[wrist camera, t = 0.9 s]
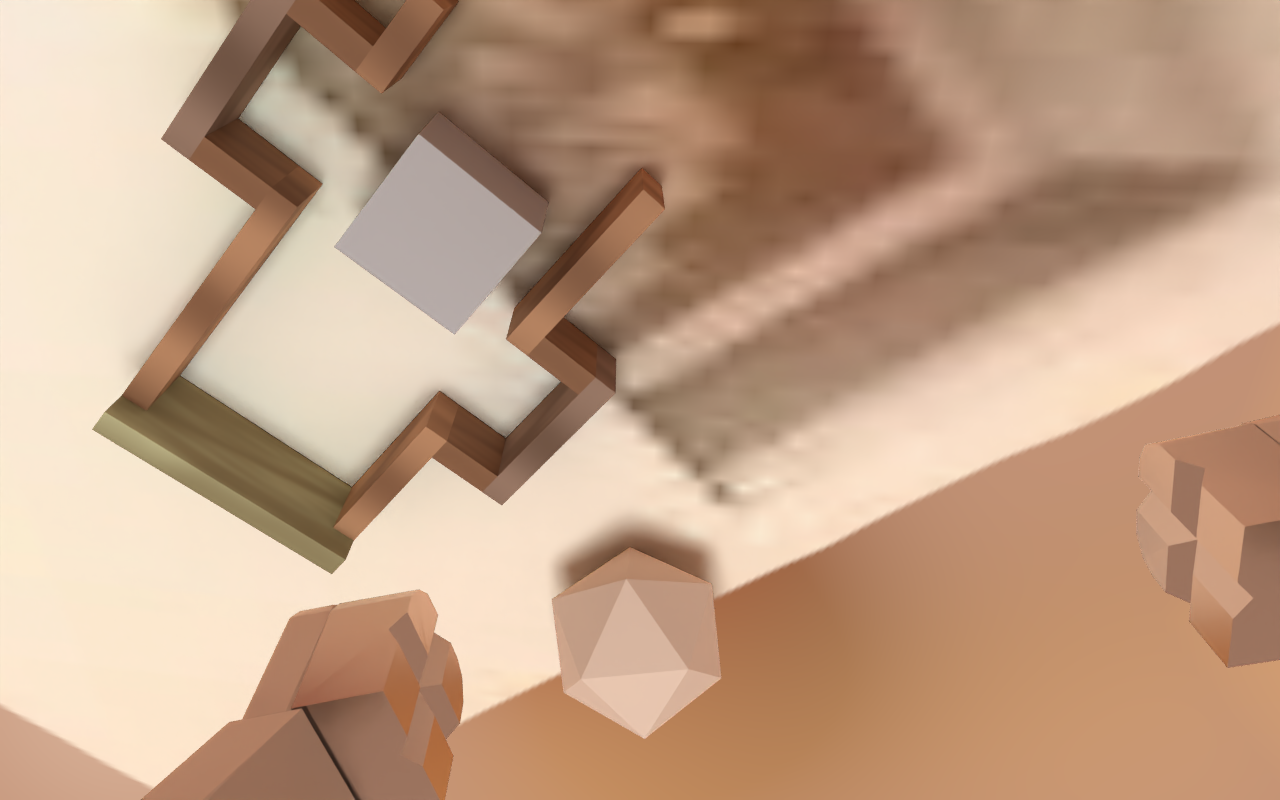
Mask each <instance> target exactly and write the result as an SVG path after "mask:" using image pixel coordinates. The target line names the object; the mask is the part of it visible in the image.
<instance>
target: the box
mask: <svg viewBox="0 0 1280 800" xmlns="http://www.w3.org/2000/svg"><path fill="white" fill-rule="evenodd" d="M458 2H459V1H458V0H406V1H405V3H404V4H403V6H402V7H401V8H400V10H399V11H398V13H397V14H396V15H395V17H394V18H393V20H392V21H391V22H390V24H389V25H388V26H387V28H385V27H384V26H383V25H382V24H381V23H379V22H378V21H377V20H376V19H375V18H374V17H373V16H371V15H370V14H369V13H368V12H367V11H366V10H364V9H363V8H362V7H361V6H360V5H359V4H358V3H356V2H355V1H354V0H250V2H249V4H248V5H247V7H246V8H245V10H244V11H243V13H242V14H241V16H240V17H239V19H238V21H237V22H236V24H235V25H234V27H233V28H232V30H231V31H230V33H229V35H228V36H227V38H226V39H225V41H224V42H223V44H222V45H221V47H220V48H219V50H218V52H217V53H216V55H215V56H214V58H213V59H212V61H211V62H210V64H209V66H208V67H207V69H206V70H205V72H204V73H203V75H202V76H201V78H200V79H199V81H198V83H197V84H196V86H195V87H194V89H193V90H192V92H191V93H190V95H189V97H188V98H187V100H186V101H185V103H184V104H183V106H182V107H181V109H180V110H179V112H178V114H177V115H176V117H175V118H174V120H173V121H172V123H171V124H170V126H169V128H168V129H167V131H166V132H165V134H164V135H163V137H162V138H161V139H162V140H163V141H164V142H166V143H167V144H168V145H170V146H171V147H172V148H174V149H175V150H177V151H178V152H179V153H181V154H182V155H183V156H185V157H186V158H187V159H189V160H190V161H191V162H193V163H194V164H195V165H197V166H198V167H199V168H201V169H202V170H204V171H205V172H206V173H208V174H209V175H210V176H212V177H213V178H214V179H216V180H217V181H218V182H220V183H221V184H222V185H224V186H225V187H226V188H228V189H229V190H231V191H232V192H233V193H235V194H236V195H237V196H239V197H240V198H241V199H243V200H244V201H245V202H247V203H248V204H249V205H251V206H252V207H253V208H255V209H256V210H255V211H254V213H253V214H252V215H251V217H250V218H249V220H248V221H247V222H246V224H245V225H244V226H243V228H242V229H241V231H240V232H239V233H238V235H237V236H236V238H235V239H234V240H233V242H232V243H231V244H230V246H229V247H228V249H227V250H226V251H225V253H224V254H223V256H222V257H221V258H220V260H219V261H218V263H217V264H216V265H215V267H214V268H213V269H212V271H211V272H210V274H209V275H208V276H207V278H206V279H205V281H204V282H203V283H202V285H201V286H200V288H199V289H198V290H197V292H196V293H195V294H194V296H193V297H192V299H191V300H190V301H189V303H188V304H187V306H186V307H185V308H184V310H183V311H182V313H181V314H180V315H179V317H178V318H177V319H176V321H175V322H174V324H173V325H172V326H171V328H170V329H169V331H168V332H167V333H166V335H165V336H164V338H163V339H162V340H161V342H160V343H159V344H158V346H157V347H156V349H155V350H154V351H153V353H152V354H151V356H150V357H149V358H148V360H147V361H146V363H145V364H144V365H143V367H142V368H141V369H140V371H139V372H138V374H137V375H136V376H135V378H134V379H133V381H132V382H131V383H130V385H129V386H128V388H127V389H126V390H125V392H124V393H123V394H122V396H121V397H120V398H119V399H118V400H117V401H116V402H115V403H114V404H112V405H111V406H110V407H109V408H108V409H107V410H106V411H105V412H104V414H103V415H102V417H101V418H100V419H99V421H98V422H97V424H96V425H95V426H94V428H93V429H92V430H94V431H96V432H97V433H99V434H101V435H102V436H104V437H106V438H107V439H109V440H111V441H112V442H114V443H115V444H117V445H119V446H120V447H122V448H124V449H125V450H127V451H129V452H130V453H132V454H134V455H135V456H137V457H139V458H140V459H142V460H144V461H145V462H147V463H149V464H150V465H152V466H154V467H155V468H157V469H159V470H160V471H162V472H163V473H165V474H167V475H168V476H170V477H172V478H173V479H175V480H177V481H178V482H180V483H182V484H183V485H185V486H187V487H188V488H190V489H192V490H193V491H195V492H197V493H198V494H200V495H202V496H203V497H205V498H207V499H208V500H210V501H211V502H213V503H215V504H216V505H218V506H220V507H221V508H223V509H225V510H226V511H228V512H230V513H231V514H233V515H235V516H236V517H238V518H240V519H241V520H243V521H245V522H246V523H248V524H250V525H251V526H253V527H255V528H256V529H258V530H259V531H261V532H263V533H264V534H266V535H268V536H269V537H271V538H273V539H274V540H276V541H278V542H279V543H281V544H283V545H284V546H286V547H288V548H289V549H291V550H293V551H294V552H296V553H298V554H299V555H301V556H303V557H304V558H306V559H307V560H309V561H311V562H312V563H314V564H316V565H317V566H319V567H321V568H322V569H324V570H326V571H327V572H329V573H331V574H332V573H333V572H334V571H335V570H336V569H337V568H338V567H339V566H340V565H341V564H342V563H343V562H344V561H345V560H346V557H347V555H348V553H349V550H350V548H351V546H352V543H353V541H354V540H355V539H356V537H357V536H358V535H359V534H360V533H361V532H362V531H363V530H364V529H365V528H366V527H367V526H368V525H369V524H370V523H371V522H372V520H373V519H374V518H375V517H376V516H377V515H378V514H379V513H380V512H381V511H382V510H383V509H384V508H385V507H386V506H387V504H388V503H389V502H390V501H391V500H392V499H393V498H394V497H395V496H396V495H397V494H398V493H399V492H400V491H401V490H402V488H403V487H404V486H405V485H406V484H407V483H408V482H409V481H410V480H411V479H412V478H413V477H414V476H415V475H416V474H417V473H418V471H419V470H420V469H421V468H422V467H423V466H424V465H425V464H426V463H427V462H428V461H429V460H430V459H431V458H434V459H435V460H436V461H438V462H439V463H441V464H442V465H444V466H445V467H447V468H448V469H450V470H451V471H453V472H454V473H455V474H457V475H458V476H460V477H461V478H463V479H464V480H466V481H467V482H469V483H470V484H471V485H473V486H474V487H476V488H477V489H479V490H480V491H482V492H483V493H485V494H486V495H487V496H489V497H490V498H492V499H493V500H495V501H496V502H498V503H499V504H501V505H503V504H504V503H505V502H506V501H507V500H508V499H509V498H510V497H511V496H512V495H513V494H514V493H515V492H516V491H517V490H518V489H519V488H520V487H521V486H522V485H523V484H524V483H525V482H526V481H527V480H528V479H529V478H530V477H531V476H532V475H533V474H534V473H535V472H536V471H537V470H538V469H539V468H540V467H541V466H542V465H543V464H544V463H545V462H546V461H547V460H548V459H549V458H550V457H551V456H552V455H553V454H554V453H555V452H556V451H557V450H558V449H559V448H560V447H561V446H562V445H563V444H564V443H565V442H566V441H567V440H568V439H569V438H570V437H571V436H572V435H573V434H575V433H576V432H577V431H578V430H579V429H580V428H581V427H582V426H583V425H584V424H585V423H586V422H587V421H588V420H589V419H590V418H591V417H592V416H593V415H594V414H595V413H596V412H597V411H598V410H599V409H600V408H601V407H602V406H603V405H604V404H605V403H606V402H607V401H608V400H609V399H610V398H611V397H612V396H613V395H614V394H615V392H616V359H615V358H614V357H612V356H611V355H610V354H609V353H607V352H606V351H605V350H604V349H602V348H601V347H600V346H599V345H597V344H596V343H595V342H594V341H592V340H591V339H590V338H589V337H587V336H586V335H585V334H584V333H582V332H581V331H580V330H579V329H577V328H576V327H575V326H574V325H572V324H571V323H570V322H569V321H567V320H566V319H565V318H564V316H565V315H566V314H567V313H568V312H569V311H570V310H571V308H572V307H573V306H574V305H575V304H576V303H577V302H578V301H579V300H580V299H581V298H582V297H583V296H584V295H585V294H586V292H587V291H588V290H589V289H590V288H591V287H592V286H593V285H594V284H595V283H596V282H597V281H598V280H599V279H600V278H601V276H602V275H603V274H604V273H605V272H606V271H607V270H608V269H609V268H610V267H611V266H612V265H613V264H614V263H615V262H616V261H617V259H618V258H619V257H620V256H621V255H622V254H623V253H624V252H625V251H626V250H627V249H628V248H629V247H630V246H631V245H632V243H633V242H634V241H635V240H636V239H637V238H638V237H639V236H640V235H641V234H642V233H643V232H644V231H645V230H646V229H647V227H648V226H649V225H650V224H651V223H652V222H653V221H654V220H655V219H656V218H657V217H658V216H659V215H660V214H661V213H662V212H663V210H664V209H665V206H664V199H663V192H662V186H661V185H660V184H659V183H658V182H657V181H656V180H655V179H653V178H652V177H651V176H650V175H649V174H648V173H647V172H646V171H645V170H644V169H642V168H641V169H640V170H639V171H638V172H637V174H636V175H635V176H634V177H633V178H632V179H631V180H630V181H629V182H628V183H627V185H626V186H625V187H624V188H623V189H622V190H621V191H620V192H619V193H618V194H617V196H616V197H615V198H614V199H613V200H612V201H611V202H610V203H609V204H608V206H607V207H606V208H605V209H604V210H603V211H602V212H601V213H600V214H599V215H598V217H597V218H596V219H595V220H594V221H593V222H592V223H591V224H590V225H589V226H588V228H587V229H586V230H585V231H584V232H583V233H582V234H581V235H580V236H579V238H578V239H577V240H576V241H575V242H574V243H573V244H572V245H571V246H570V247H569V249H568V250H567V251H566V252H565V253H564V254H563V255H562V256H561V257H560V258H559V260H558V261H557V262H556V263H555V264H554V265H553V266H552V267H551V268H550V270H549V271H548V272H547V273H546V274H545V275H544V276H543V277H542V278H541V279H540V281H539V282H538V283H537V284H536V285H535V286H534V287H533V288H532V289H531V290H530V292H529V293H528V294H527V295H526V296H525V297H524V298H523V299H522V300H521V302H520V303H519V304H518V305H517V306H516V307H515V308H514V312H513V315H512V319H511V323H510V327H509V330H508V334H507V338H506V340H508V341H509V342H510V343H512V344H513V345H514V346H516V347H517V348H518V349H519V350H521V351H522V352H523V353H525V354H526V355H527V356H529V357H530V358H531V359H532V360H534V361H535V362H536V363H538V364H539V365H540V366H542V367H543V368H544V369H545V370H547V371H548V372H549V373H551V374H552V375H553V376H555V377H556V378H557V379H559V380H560V381H561V382H560V384H559V385H558V386H557V387H556V388H555V389H554V390H553V391H552V392H551V393H550V394H549V395H548V396H547V397H546V398H545V399H544V400H543V401H542V402H541V403H540V404H539V405H538V406H537V407H536V408H535V409H534V410H533V411H532V412H531V413H530V414H529V415H528V416H527V417H526V418H525V419H524V421H523V422H522V423H521V424H520V425H519V426H518V427H517V428H516V429H515V430H514V431H513V432H512V433H511V434H510V435H509V436H508V437H507V438H506V439H505V438H504V437H503V436H501V435H500V434H499V433H497V432H496V431H494V430H493V429H492V428H490V427H489V426H487V425H486V424H485V423H483V422H482V421H480V420H479V419H478V418H476V417H475V416H474V415H472V414H471V413H469V412H468V411H467V410H465V409H464V408H462V407H461V406H460V405H458V404H457V403H455V402H454V401H453V400H451V399H450V398H449V397H447V396H446V395H444V394H443V393H442V392H440V391H439V392H438V393H437V394H436V395H435V396H434V398H433V399H432V400H431V401H430V402H429V403H428V404H427V405H426V406H425V407H424V409H423V410H422V411H421V412H420V413H419V414H418V415H417V416H416V417H415V418H414V420H413V421H412V422H411V423H410V424H409V425H408V426H407V427H406V428H405V430H404V431H403V432H402V433H401V434H400V435H399V436H398V437H397V438H396V439H395V441H394V442H393V443H392V444H391V445H390V446H389V447H388V448H387V449H386V450H385V452H384V453H383V454H382V455H381V456H380V457H379V458H378V459H377V460H376V462H375V463H374V464H373V465H372V466H371V467H370V468H369V469H368V470H367V471H366V473H365V474H364V475H363V476H362V477H361V478H360V479H359V480H358V481H357V482H356V484H355V485H354V486H353V487H350V486H349V485H347V484H346V483H344V482H343V481H341V480H339V479H338V478H336V477H335V476H333V475H332V474H330V473H329V472H327V471H326V470H324V469H322V468H321V467H319V466H318V465H316V464H315V463H313V462H312V461H310V460H309V459H307V458H305V457H304V456H302V455H301V454H299V453H298V452H296V451H295V450H293V449H292V448H290V447H289V446H287V445H285V444H284V443H282V442H281V441H279V440H278V439H276V438H275V437H273V436H272V435H270V434H268V433H267V432H265V431H264V430H262V429H261V428H259V427H258V426H256V425H255V424H253V423H252V422H250V421H248V420H247V419H245V418H244V417H242V416H241V415H239V414H238V413H236V412H235V411H233V410H231V409H230V408H228V407H227V406H225V405H224V404H222V403H221V402H219V401H218V400H216V399H214V398H213V397H211V396H210V395H208V394H207V393H205V392H204V391H202V390H201V389H199V388H198V387H196V386H194V385H193V384H191V383H190V382H188V381H187V380H185V379H184V378H182V377H181V376H180V375H181V373H182V372H183V371H184V369H185V368H186V367H187V365H188V364H189V363H190V361H191V360H192V359H193V357H194V356H195V354H196V353H197V352H198V350H199V349H200V348H201V346H202V345H203V344H204V342H205V341H206V340H207V338H208V337H209V336H210V334H211V333H212V332H213V330H214V329H215V328H216V326H217V325H218V324H219V322H220V321H221V320H222V318H223V317H224V316H225V314H226V313H227V312H228V310H229V309H230V308H231V306H232V305H233V304H234V302H235V301H236V300H237V298H238V297H239V295H240V294H241V293H242V291H243V290H244V289H245V287H246V286H247V285H248V283H249V282H250V281H251V279H252V278H253V277H254V275H255V274H256V273H257V271H258V270H259V269H260V267H261V266H262V265H263V263H264V262H265V261H266V259H267V258H268V257H269V255H270V254H271V253H272V251H273V250H274V249H275V247H276V246H277V245H278V243H279V242H280V241H281V239H282V238H283V236H284V235H285V234H286V232H287V231H288V230H289V228H290V227H291V226H292V224H293V223H294V222H295V220H296V219H297V218H298V216H299V215H300V214H301V212H302V211H303V210H304V208H305V207H306V206H307V204H308V203H309V202H310V200H311V199H312V198H313V196H314V195H315V194H316V192H317V191H318V190H319V188H320V187H321V186H322V183H320V182H319V181H318V180H317V179H315V178H314V177H313V176H311V175H310V174H309V173H308V172H306V171H305V170H304V169H302V168H301V167H300V166H299V165H297V164H296V163H295V162H293V161H292V160H291V159H289V158H288V157H287V156H286V155H284V154H283V153H282V152H280V151H279V150H278V149H277V148H275V147H274V146H273V145H271V144H270V143H269V142H268V141H266V140H265V139H264V138H262V137H261V136H260V135H258V134H257V133H256V132H255V131H253V130H252V129H251V128H249V127H248V126H247V125H246V124H244V123H243V122H242V121H240V120H239V119H238V118H239V116H240V115H241V113H242V112H243V110H244V109H245V107H246V106H247V104H248V103H249V102H250V100H251V99H252V97H253V96H254V94H255V93H256V91H257V90H258V88H259V87H260V85H261V84H262V82H263V81H264V79H265V78H266V76H267V75H268V73H269V72H270V71H271V69H272V68H273V66H274V65H275V63H276V62H277V60H278V59H279V57H280V56H281V54H282V53H283V51H284V50H285V48H286V47H287V45H288V44H289V42H290V41H291V40H292V38H293V37H294V35H295V34H296V32H297V31H298V29H299V28H300V26H301V27H303V28H304V29H305V30H306V31H307V32H309V33H310V34H311V35H312V36H313V37H315V38H316V39H317V40H318V41H319V42H321V43H322V44H323V45H324V46H325V47H327V48H328V49H329V50H330V51H331V52H332V53H334V54H335V55H336V56H337V57H338V58H340V59H341V60H342V61H343V62H344V63H346V64H347V65H348V66H349V67H350V68H352V69H353V70H354V71H355V72H356V73H358V74H359V75H360V76H361V77H362V78H364V79H365V80H366V81H367V82H368V83H370V84H371V85H372V86H373V87H374V88H376V89H377V90H378V91H379V92H380V93H383V92H384V91H386V90H387V89H388V88H389V87H391V86H392V85H393V84H395V83H396V82H397V81H399V80H400V79H401V78H402V77H403V76H404V74H405V73H406V72H407V70H408V69H409V68H410V66H411V65H412V64H413V62H414V61H415V59H416V58H417V57H418V55H419V54H420V53H421V51H422V50H423V49H424V47H425V46H426V45H427V43H428V42H429V41H430V39H431V38H432V37H433V35H434V34H435V33H436V31H437V30H438V29H439V27H440V26H441V25H442V23H443V22H444V21H445V19H446V18H447V17H448V15H449V14H450V13H451V11H452V10H453V9H454V7H455V6H456V5H457V3H458Z"/></svg>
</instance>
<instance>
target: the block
mask: <svg viewBox="0 0 1280 800" xmlns="http://www.w3.org/2000/svg"><path fill="white" fill-rule="evenodd" d="M548 203H549V202H548V201H546V200H545V199H544V198H543V197H541V196H540V195H539V194H538V193H537V192H535V191H534V190H533V189H532V188H531V187H529V186H528V185H527V184H526V183H525V182H523V181H522V180H521V179H520V178H518V177H517V176H516V175H515V174H514V173H512V172H511V171H510V170H509V169H508V168H506V167H505V166H504V165H503V164H501V163H500V162H499V161H498V160H497V159H495V158H494V157H493V156H492V155H491V154H489V153H488V152H487V151H486V150H485V149H483V148H482V147H481V146H480V145H478V144H477V143H476V142H475V141H474V140H472V139H471V138H470V137H469V136H468V135H466V134H465V133H464V132H463V131H461V130H460V129H459V128H458V127H457V126H455V125H454V124H453V123H452V122H451V121H449V120H448V119H447V118H446V117H445V116H443V115H442V114H441V113H440V112H438V113H437V114H436V115H435V116H434V117H433V119H432V120H431V121H430V122H429V123H428V124H427V125H426V126H425V127H424V128H423V130H422V131H421V132H420V133H419V134H418V135H417V137H416V138H415V139H414V141H413V142H412V143H411V145H410V146H409V147H408V149H407V150H406V151H405V153H404V154H403V155H402V157H401V158H400V159H399V161H398V162H397V163H396V165H395V166H394V167H393V169H392V170H391V171H390V173H389V174H388V175H387V177H386V178H385V180H384V181H383V182H382V184H381V185H380V186H379V188H378V189H377V190H376V192H375V193H374V194H373V196H372V197H371V198H370V200H369V201H368V202H367V204H366V205H365V206H364V208H363V209H362V210H361V212H360V213H359V214H358V216H357V217H356V218H355V220H354V221H353V222H352V224H351V225H350V226H349V228H348V229H347V230H346V232H345V233H344V234H343V236H342V237H341V238H340V240H339V241H338V242H337V244H336V245H335V246H334V247H335V248H336V249H338V250H339V251H340V252H342V253H343V254H345V255H346V256H347V257H349V258H350V259H351V260H353V261H354V262H356V263H357V264H358V265H360V266H361V267H362V268H364V269H365V270H367V271H368V272H369V273H371V274H372V275H373V276H375V277H376V278H378V279H379V280H380V281H382V282H383V283H384V284H386V285H387V286H388V287H390V288H391V289H393V290H394V291H395V292H397V293H398V294H399V295H401V296H402V297H404V298H405V299H406V300H408V301H409V302H410V303H412V304H413V305H415V306H416V307H417V308H419V309H420V310H421V311H423V312H424V313H426V314H427V315H428V316H430V317H431V318H432V319H434V320H435V321H437V322H438V323H439V324H441V325H442V326H443V327H445V328H446V329H448V330H449V331H450V332H452V333H453V334H454V335H455V334H456V332H457V331H458V330H459V329H460V328H461V327H462V325H463V324H464V323H465V322H466V321H467V320H468V318H469V317H470V316H471V315H472V314H473V313H474V311H475V310H476V309H477V308H478V307H479V305H480V304H481V303H482V302H483V301H484V300H485V298H486V297H487V296H488V295H489V294H490V293H491V291H492V290H493V289H494V288H495V287H496V286H497V284H498V283H499V282H500V281H501V280H502V279H503V277H504V276H505V275H506V274H507V273H508V271H509V270H510V269H511V268H512V267H513V266H514V264H515V263H516V262H517V261H518V260H519V259H520V257H521V256H522V255H523V254H524V253H525V252H526V250H527V249H528V248H529V247H530V246H531V245H532V243H533V242H534V241H535V240H536V239H537V238H538V236H539V235H540V234H541V233H542V228H543V224H544V220H545V216H546V212H547V208H548Z"/></svg>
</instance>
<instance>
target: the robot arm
mask: <svg viewBox="0 0 1280 800" xmlns="http://www.w3.org/2000/svg"><path fill="white" fill-rule="evenodd" d="M1138 477H1139V478H1140V479H1141V480H1142V481H1143V482H1144V483H1145V484H1146V485H1147V486H1148V487H1149V488H1150V490H1151V492H1150V494H1149V495H1148V496H1147V497H1146V499H1145V500H1144V501H1143V502H1142V504H1141V505H1140V506H1139V507H1138V509H1137V537H1138V541H1139V545H1140V549H1141V552H1142V556H1143V559H1144V561H1145V563H1146V565H1147V567H1148V568H1149V570H1150V572H1151V574H1152V576H1153V577H1154V578H1155V580H1156V581H1157V582H1158V583H1159V585H1160V586H1161V587H1162V589H1163V590H1164V591H1165V592H1166V593H1168V594H1171V595H1173V596H1175V597H1177V598H1180V599H1182V600H1184V601H1187V602H1189V603H1191V605H1190V618H1189V622H1190V623H1191V624H1192V626H1193V627H1194V628H1195V629H1196V630H1197V632H1198V633H1199V634H1200V635H1201V636H1202V638H1203V639H1204V640H1205V641H1206V643H1207V644H1208V645H1209V646H1210V647H1211V649H1212V650H1213V651H1214V652H1215V653H1216V655H1217V656H1218V657H1219V658H1220V659H1221V660H1222V662H1223V663H1224V664H1225V665H1226V667H1228V668H1230V667H1235V666H1243V665H1249V664H1256V663H1263V662H1269V661H1276V660H1280V415H1276V416H1272V417H1268V418H1264V419H1259V420H1254V421H1250V422H1246V423H1242V424H1241V425H1239V426H1234V427H1229V428H1224V429H1220V430H1215V431H1210V432H1205V433H1200V434H1195V435H1190V436H1185V437H1180V438H1175V439H1171V440H1166V441H1161V442H1156V443H1151V444H1146V445H1145V447H1144V449H1143V451H1142V453H1141V456H1140V461H1139V476H1138ZM437 617H438V614H437V612H436V610H435V608H434V606H433V604H432V602H431V600H430V598H429V596H428V594H427V593H425V592H423V591H421V590H413V591H407V592H402V593H396V594H390V595H385V596H379V597H373V598H368V599H362V600H356V601H351V602H345V603H340V604H339V605H330V606H325V607H320V608H315V609H309V610H304V611H300V612H298V613H297V614H295V615H294V616H292V617H291V618H290V619H289V621H288V623H287V625H286V627H285V629H284V631H283V633H282V636H281V638H280V640H279V642H278V644H277V646H276V648H275V650H274V653H273V655H272V657H271V659H270V661H269V663H268V665H267V668H266V670H265V672H264V674H263V676H262V678H261V680H260V682H259V685H258V687H257V689H256V691H255V693H254V695H253V697H252V700H251V702H250V704H249V706H248V708H247V710H246V712H245V715H244V717H243V719H242V720H238V721H233V722H229V723H228V724H227V725H225V726H224V727H223V728H222V729H221V730H220V731H219V732H217V733H216V734H215V735H214V736H213V737H212V738H211V739H209V740H208V741H207V742H206V743H205V744H204V745H203V746H201V747H200V748H199V749H198V750H197V751H196V752H195V753H193V754H192V755H191V756H190V757H189V758H188V759H187V760H186V761H184V762H183V763H182V764H181V765H180V766H179V767H178V768H176V769H175V770H174V771H173V772H172V773H171V774H170V775H168V776H167V777H166V778H165V779H164V780H163V781H162V782H160V783H159V784H158V785H157V786H156V787H155V788H154V789H152V790H151V791H150V792H149V793H148V794H147V795H146V796H144V797H143V798H142V799H141V800H445V797H446V792H447V787H448V781H449V776H450V771H451V766H452V761H453V754H452V752H451V750H450V747H449V746H448V743H447V741H446V739H447V737H448V736H449V735H450V734H451V733H452V732H453V731H454V729H455V728H456V727H457V726H458V725H459V724H460V719H461V713H462V707H463V685H462V675H461V671H460V667H459V663H458V659H457V656H456V654H455V652H454V649H453V647H452V645H451V643H450V642H448V641H447V640H445V639H444V638H442V637H440V636H439V635H437V634H435V633H434V629H435V625H436V621H437Z"/></svg>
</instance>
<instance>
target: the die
mask: <svg viewBox="0 0 1280 800" xmlns="http://www.w3.org/2000/svg"><path fill="white" fill-rule="evenodd" d="M552 604H553V612H554V620H555V628H556V636H557V644H558V651H559V659H560V667H561V675H562V683H563V691H564V693H566V694H567V695H569V696H571V697H573V698H574V699H576V700H578V701H580V702H582V703H583V704H585V705H587V706H588V707H590V708H592V709H593V710H595V711H597V712H599V713H600V714H602V715H604V716H606V717H607V718H609V719H611V720H613V721H614V722H616V723H618V724H620V725H621V726H623V727H625V728H627V729H628V730H630V731H632V732H634V733H635V734H637V735H639V736H641V737H642V738H644V739H645V738H646V737H647V736H649V735H650V734H651V733H653V732H654V731H655V730H656V729H658V728H659V727H660V726H661V725H663V724H664V723H665V722H666V721H668V720H669V719H670V718H671V717H673V716H674V715H675V714H676V713H678V712H679V711H680V710H681V709H683V708H684V707H685V706H687V705H688V704H689V703H690V702H691V701H693V700H694V699H695V698H696V697H698V696H699V695H700V694H702V693H703V692H704V691H705V690H707V689H708V688H709V687H710V686H712V685H713V684H714V683H716V682H717V681H718V680H719V679H721V670H720V660H719V651H718V641H717V632H716V621H715V611H714V601H713V591H712V584H711V583H709V582H706V581H704V580H702V579H700V578H698V577H695V576H693V575H691V574H689V573H686V572H684V571H682V570H680V569H678V568H675V567H673V566H671V565H669V564H667V563H664V562H662V561H660V560H658V559H655V558H653V557H651V556H649V555H647V554H644V553H642V552H640V551H638V550H635V549H633V548H631V547H629V548H628V549H626V550H625V551H623V552H622V553H620V554H619V555H617V556H616V557H614V558H613V559H611V560H610V561H608V562H607V563H605V564H604V565H602V566H601V567H599V568H598V569H596V570H595V571H593V572H592V573H590V574H589V575H587V576H586V577H584V578H583V579H581V580H580V581H578V582H577V583H575V584H574V585H572V586H571V587H569V588H568V589H566V590H565V591H563V592H562V593H560V594H559V595H557V596H556V597H555V598H553V599H552Z"/></svg>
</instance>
